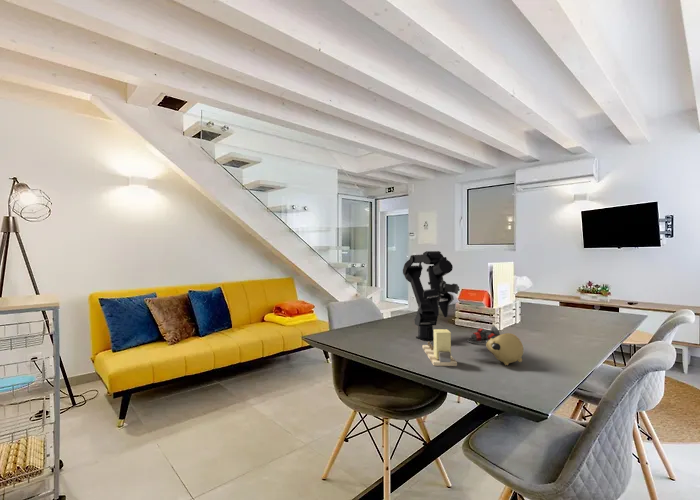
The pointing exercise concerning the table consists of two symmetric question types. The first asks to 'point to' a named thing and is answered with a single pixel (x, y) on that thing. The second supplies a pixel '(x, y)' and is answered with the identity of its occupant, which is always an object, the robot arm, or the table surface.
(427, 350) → the comb board
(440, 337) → the yellow square block
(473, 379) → the table surface
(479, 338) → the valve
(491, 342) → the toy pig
